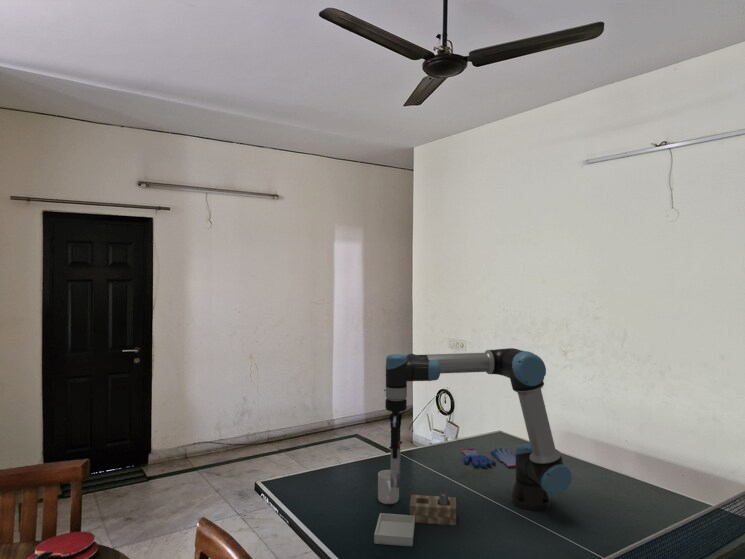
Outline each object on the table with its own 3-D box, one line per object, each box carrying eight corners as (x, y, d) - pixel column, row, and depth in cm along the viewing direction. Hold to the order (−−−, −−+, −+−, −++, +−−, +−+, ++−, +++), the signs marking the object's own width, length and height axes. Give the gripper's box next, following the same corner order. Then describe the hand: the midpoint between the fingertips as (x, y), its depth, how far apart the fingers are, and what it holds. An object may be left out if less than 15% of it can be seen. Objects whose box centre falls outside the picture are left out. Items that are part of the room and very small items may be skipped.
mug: (378, 508, 194) (378, 481, 194) (377, 495, 206) (377, 469, 206) (400, 508, 194) (400, 481, 194) (397, 495, 206) (398, 469, 206)
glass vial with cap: (400, 484, 176) (400, 440, 176) (399, 488, 173) (400, 443, 173) (390, 483, 177) (391, 440, 177) (390, 487, 173) (390, 443, 173)
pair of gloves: (514, 451, 263) (514, 444, 263) (533, 469, 237) (533, 462, 237) (455, 453, 260) (455, 446, 261) (468, 471, 235) (468, 463, 235)
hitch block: (455, 513, 190) (455, 497, 190) (456, 525, 180) (456, 508, 180) (411, 510, 193) (411, 494, 193) (409, 522, 183) (409, 505, 183)
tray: (414, 523, 181) (415, 515, 182) (412, 546, 166) (412, 537, 166) (379, 521, 183) (379, 513, 183) (374, 543, 167) (374, 534, 167)
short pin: (448, 516, 187) (448, 492, 188) (448, 520, 184) (448, 496, 184) (439, 515, 188) (439, 492, 188) (439, 520, 185) (439, 495, 185)
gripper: (388, 393, 184) (387, 456, 183) (382, 403, 167) (382, 472, 167) (408, 393, 183) (407, 457, 182) (405, 404, 166) (404, 474, 166)
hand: (395, 464), depth 175 cm, fingers closed on glass vial with cap, 3 cm apart
